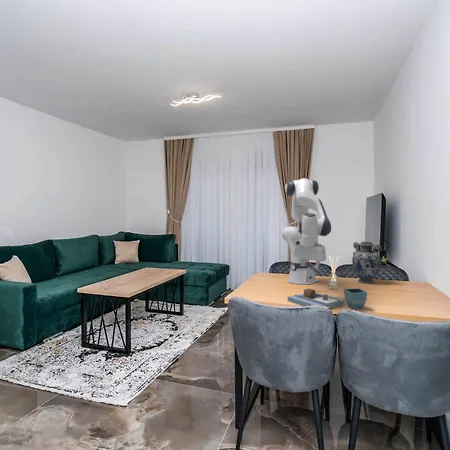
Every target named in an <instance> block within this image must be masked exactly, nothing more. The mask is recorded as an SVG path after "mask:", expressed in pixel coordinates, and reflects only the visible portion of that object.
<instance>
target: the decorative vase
mask: <svg viewBox="0 0 450 450" xmlns="http://www.w3.org/2000/svg"><path fill="white" fill-rule="evenodd" d="M352 246H353V248H354V249H355V251H354V253H353V255H352V259H351V263H352V268H353V271H354V273H355V274H356V276H357V277H358V278H359V279H358V280H357V282H358V283H360V284H369V285H370V284H374V283H375V281H374V280H373V279H375V278H376V277H377V276H378V274H380V271H381V268H382V258H381V255H380V252H381V251H382V245H381V244H376V245H375V244H374V243H373V242H370V241H361V242H360V243H359V242H358V241H354V242H353V245H352Z"/></svg>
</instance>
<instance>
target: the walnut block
mask: <svg viewBox="0 0 450 450" xmlns="http://www.w3.org/2000/svg"><path fill="white" fill-rule="evenodd" d="M303 293H304V297H306V298H310V299H314V298H315V297H316V293H317V291H316V289H312V288H305V289H303Z"/></svg>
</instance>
